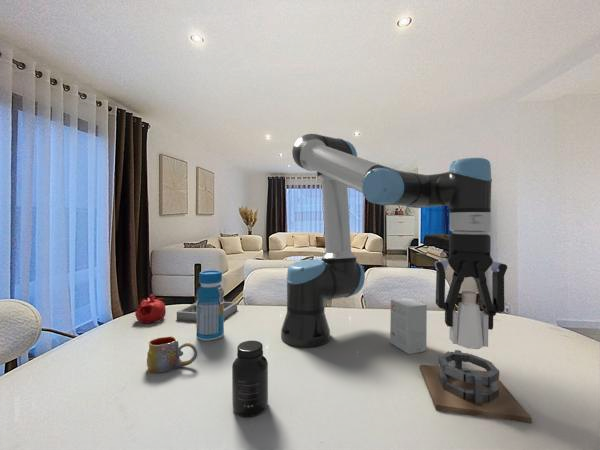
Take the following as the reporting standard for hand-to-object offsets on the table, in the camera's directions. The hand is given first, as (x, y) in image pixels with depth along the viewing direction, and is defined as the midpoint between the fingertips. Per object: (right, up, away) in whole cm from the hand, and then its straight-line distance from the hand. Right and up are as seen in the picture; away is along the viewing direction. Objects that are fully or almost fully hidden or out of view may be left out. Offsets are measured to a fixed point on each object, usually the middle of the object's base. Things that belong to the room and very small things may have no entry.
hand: (468, 342), depth 61 cm
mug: (-67, -10, +9) cm, 68 cm away
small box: (-5, -10, +22) cm, 25 cm away
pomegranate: (-89, -10, +42) cm, 99 cm away
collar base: (0, -11, 0) cm, 11 cm away
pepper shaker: (0, 0, 0) cm, 0 cm away
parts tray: (-70, -9, +48) cm, 86 cm away
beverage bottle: (-64, -10, +28) cm, 70 cm away
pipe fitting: (-72, -9, +50) cm, 88 cm away
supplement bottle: (-45, -10, -5) cm, 47 cm away
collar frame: (0, -11, 0) cm, 11 cm away
